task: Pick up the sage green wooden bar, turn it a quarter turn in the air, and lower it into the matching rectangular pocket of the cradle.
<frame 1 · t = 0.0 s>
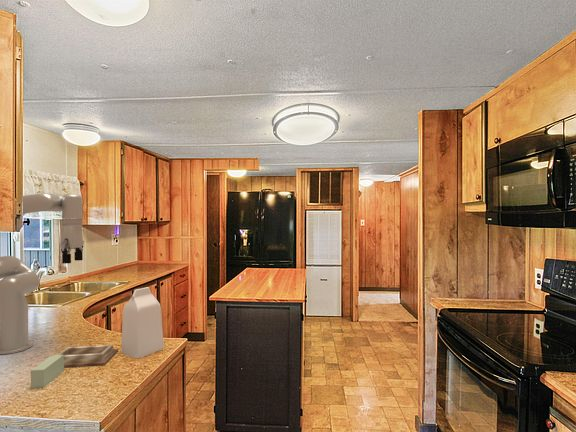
hand: (72, 261, 145), 37 cm above the counter, tool pointing down, fingers open, 9 cm apart
bar: (48, 379, 115), on the counter
milk: (142, 351, 139), on the counter
cradle: (85, 359, 130), on the counter
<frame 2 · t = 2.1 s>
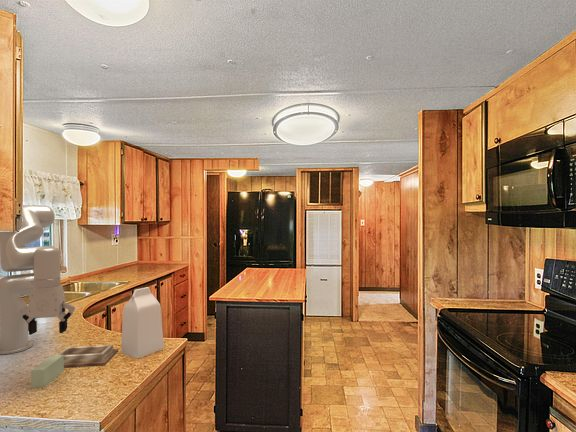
hand: (48, 332, 115), 16 cm above the counter, tool pointing down, fingers open, 9 cm apart
nothing on the counter moved.
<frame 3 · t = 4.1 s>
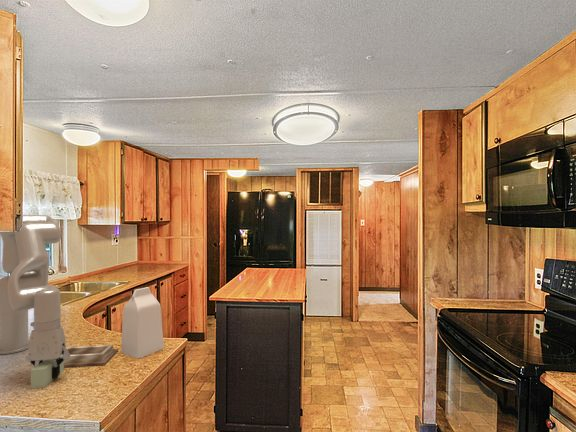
hand: (48, 377, 115), 1 cm above the counter, tool pointing down, fingers closed on bar, 4 cm apart
bar: (48, 379, 115), on the counter, touching gripper
everything else where it was.
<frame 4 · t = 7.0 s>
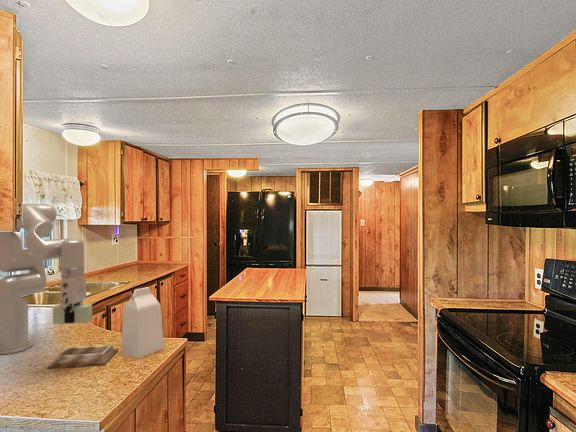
hand: (73, 320, 126), 17 cm above the counter, tool pointing down, fingers closed on bar, 4 cm apart
bar: (73, 321, 126), point 16 cm above the counter, touching gripper
everything else where it was.
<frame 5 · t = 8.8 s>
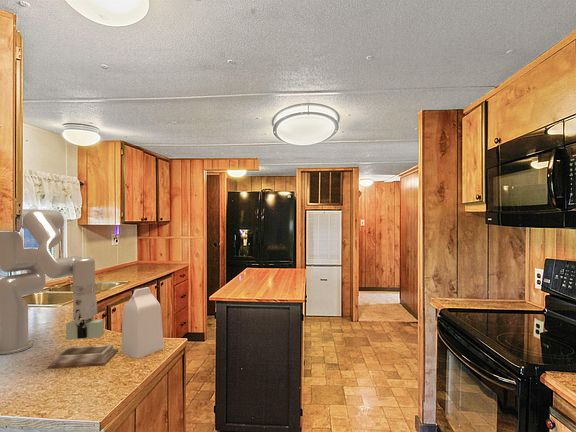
hand: (85, 335, 130), 10 cm above the counter, tool pointing down, fingers closed on bar, 4 cm apart
bar: (85, 336, 130), point 9 cm above the counter, touching gripper
everything else where it was.
when the fingers open (4 cm above the counter, at t = 10.1 s): bar drops 2 cm, resting on cradle.
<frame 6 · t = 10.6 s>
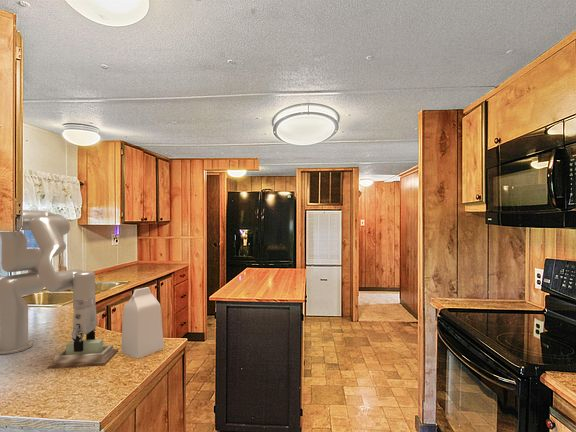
hand: (84, 346, 130), 5 cm above the counter, tool pointing down, fingers open, 9 cm apart
bar: (85, 356, 131), point 1 cm above the counter, touching cradle
everything else where it was.
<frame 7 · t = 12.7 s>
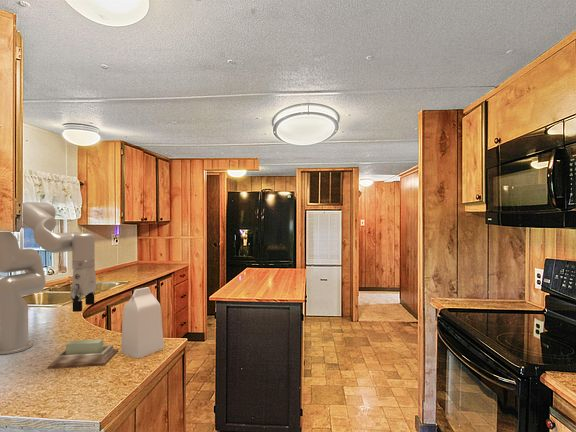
hand: (83, 307, 131), 20 cm above the counter, tool pointing down, fingers open, 9 cm apart
nothing on the counter moved.
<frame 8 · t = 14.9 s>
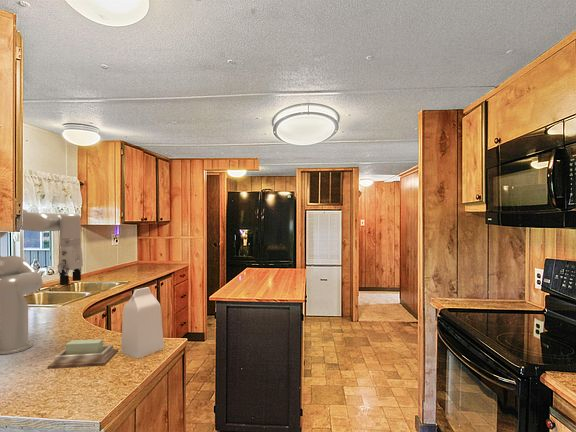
hand: (70, 282, 141), 28 cm above the counter, tool pointing down, fingers open, 9 cm apart
nothing on the counter moved.
at the end: bar 0.1 cm off-centre on the cradle, point 1.0 cm above the cradle's base; bar tilted 0°; the gripper is holding nothing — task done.
